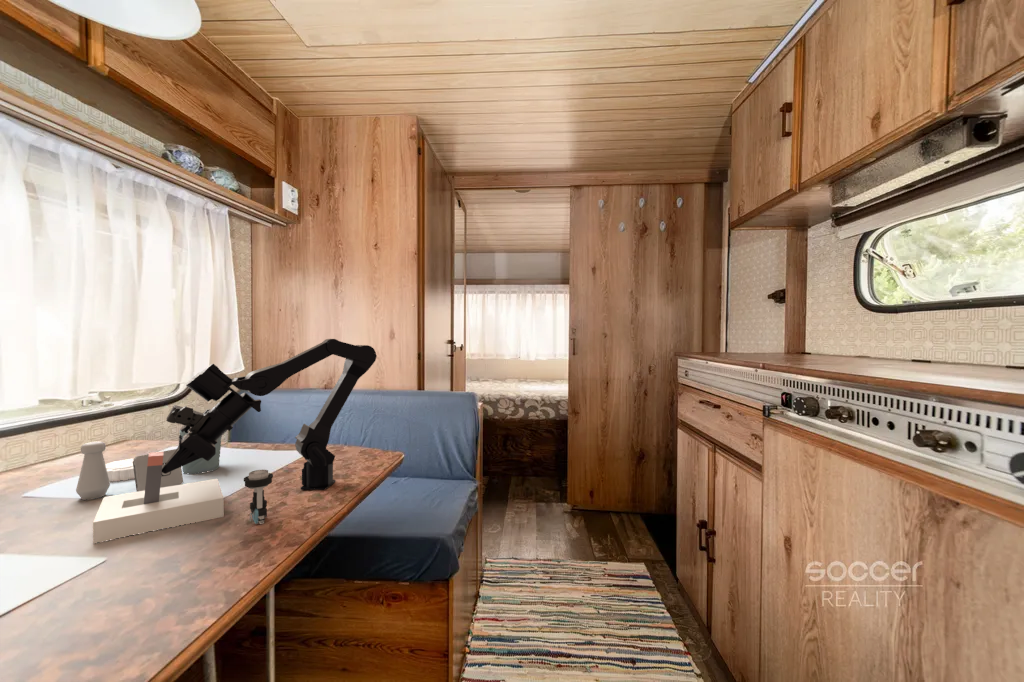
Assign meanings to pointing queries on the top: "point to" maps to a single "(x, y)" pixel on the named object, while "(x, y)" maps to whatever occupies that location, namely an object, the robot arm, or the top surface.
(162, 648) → the top surface
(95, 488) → the salt shaker
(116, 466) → the mooncake
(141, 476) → the electrical switch
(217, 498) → the box
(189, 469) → the green cup
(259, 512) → the push button
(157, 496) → the lever
